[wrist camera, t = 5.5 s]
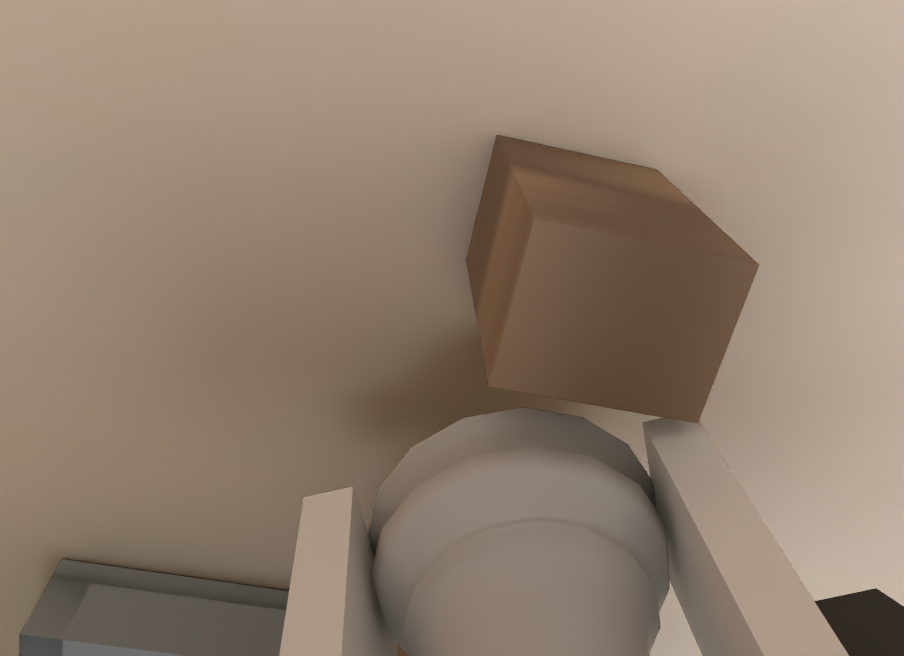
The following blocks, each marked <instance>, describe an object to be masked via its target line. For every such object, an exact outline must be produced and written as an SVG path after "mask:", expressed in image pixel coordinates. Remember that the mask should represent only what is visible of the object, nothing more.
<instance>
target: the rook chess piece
mask: <svg viewBox="0 0 904 656" xmlns="http://www.w3.org/2000/svg"><path fill="white" fill-rule="evenodd" d="M369 538H370V541H371V545H372V548H373V552H374V555H375V560H374V564H373V568H372V573H371V576H372V579H373V583H374V586H375V589H376V593H377V596H378V600H379V603H380V607H381V610H382V614H383V617H384V620H385V623H386V626H387V629H388V632H389V634H390V636H391V637H392V638H393V639H394V640H395V641H396V642H397V643H398V645H399V646H400V647H401V648H402V649H403V650H404V651H405V652H406V653H407V655H408V656H649V652H650V650H651V647H652V645H653V643H654V641H655V638H656V636H657V634H658V631H659V629H660V619H659V611H660V609H661V607H662V605H663V602H664V600H665V598H666V595H667V593H668V591H669V558H668V545H667V532H666V524H665V522H664V521H663V519H662V518H661V516H660V515H659V513H658V512H657V509H656V501H655V493H654V485H653V482H652V480H651V479H650V477H649V476H648V474H647V472H646V471H645V469H644V468H643V466H642V465H641V463H640V462H639V460H638V459H637V457H636V456H635V454H634V453H633V451H632V450H631V448H630V447H629V445H628V444H626V443H624V442H623V441H621V440H619V439H618V438H616V437H614V436H613V435H611V434H609V433H608V432H606V431H604V430H603V429H601V428H599V427H598V426H596V425H594V424H593V423H591V422H589V421H588V420H586V419H584V418H583V417H579V416H573V415H567V414H561V413H554V412H548V411H542V410H536V409H530V408H524V407H523V408H517V409H511V410H506V411H500V412H494V413H489V414H483V415H477V416H471V417H466V418H462V419H460V420H458V421H457V422H455V423H453V424H451V425H450V426H448V427H446V428H444V429H443V430H441V431H439V432H437V433H435V434H434V435H432V436H430V437H428V438H427V439H425V440H423V441H421V442H419V443H418V444H416V445H414V446H412V447H411V448H410V450H409V451H408V452H407V453H406V455H405V456H404V457H403V458H402V460H401V461H400V462H399V463H398V465H397V466H396V467H395V468H394V470H393V471H392V472H391V473H390V475H389V476H388V477H387V478H386V480H385V481H384V482H383V483H382V485H381V486H380V487H379V489H378V494H377V498H376V503H375V507H374V511H373V516H372V520H371V525H370V529H369Z"/></svg>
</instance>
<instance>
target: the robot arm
mask: <svg viewBox="0 0 904 656" xmlns="http://www.w3.org/2000/svg"><path fill="white" fill-rule="evenodd" d="M643 428H644V435H645V442H646V449H647V456H648V463H649V470H650V477H651V480H652V482H653V485H654V493H655V501H656V509H657V512H658V513H659V515H660V516H661V518H662V519H663V521H664V522H665V524H666V532H667V545H668V558H669V579H670V582H671V584H672V586H673V589H674V591H675V593H676V595H677V598H678V600H679V602H680V605H681V607H682V609H683V612H684V614H685V616H686V618H687V621H688V623H689V625H690V628H691V630H692V632H693V635H694V637H695V639H696V642H697V644H698V646H699V648H700V651H701V653H702V655H703V656H904V607H903V606H902V605H900V604H899V603H897V602H896V601H894V600H893V599H891V598H890V597H888V596H887V595H885V594H884V593H882V592H881V591H879V590H878V589H871V590H866V591H862V592H857V593H852V594H847V595H843V596H838V597H833V598H829V599H824V600H819V601H814V600H813V598H812V597H811V595H810V594H809V592H808V591H807V589H806V588H805V586H804V584H803V583H802V581H801V580H800V578H799V577H798V575H797V573H796V572H795V570H794V569H793V567H792V566H791V564H790V562H789V561H788V559H787V558H786V556H785V555H784V553H783V551H782V550H781V548H780V547H779V545H778V544H777V542H776V541H775V539H774V537H773V536H772V534H771V533H770V531H769V530H768V528H767V526H766V525H765V523H764V522H763V520H762V519H761V517H760V515H759V514H758V512H757V511H756V509H755V508H754V506H753V504H752V503H751V501H750V500H749V498H748V497H747V495H746V494H745V492H744V490H743V489H742V487H741V486H740V484H739V483H738V481H737V479H736V478H735V476H734V475H733V473H732V472H731V470H730V468H729V467H728V465H727V464H726V462H725V461H724V459H723V458H722V456H721V454H720V453H719V451H718V450H717V448H716V447H715V445H714V443H713V442H712V440H711V439H710V437H709V436H708V434H707V432H706V431H705V429H704V428H703V426H702V425H701V423H700V421H698V423H691V422H686V421H680V420H675V419H669V418H661V419H656V420H652V421H647V422H643ZM374 560H375V555H374V552H373V548H372V545H371V541H370V538H369V535H368V532H367V529H366V526H365V523H364V520H363V517H362V513H361V510H360V507H359V504H358V501H357V498H356V495H355V492H354V489H353V486H352V487H348V488H343V489H339V490H334V491H330V492H325V493H321V494H316V495H312V496H307V497H304V498H303V505H302V511H301V518H300V524H299V531H298V537H297V544H296V550H295V556H294V563H293V569H292V576H291V582H290V589H289V595H288V602H287V608H286V615H285V621H284V628H283V634H282V640H281V647H280V653H279V656H397V642H396V641H395V640H394V639H393V638H392V637H391V636H390V634H389V632H388V629H387V626H386V623H385V620H384V617H383V614H382V610H381V607H380V603H379V600H378V596H377V593H376V589H375V586H374V583H373V579H372V576H371V573H372V568H373V564H374Z"/></svg>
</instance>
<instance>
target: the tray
mask: <svg viewBox="0 0 904 656" xmlns="http://www.w3.org/2000/svg"><path fill="white" fill-rule="evenodd" d="M288 595H289V591H284V590H277V589H270V588H263V587H256V586H249V585H241V584H234V583H227V582H220V581H213V580H206V579H199V578H192V577H185V576H178V575H171V574H164V573H157V572H150V571H142V570H135V569H128V568H121V567H114V566H107V565H100V564H93V563H86V562H79V561H72V560H65V559H62V560H61V561H60V563H59V565H58V567H57V569H56V570H55V572H54V574H53V576H52V578H51V579H50V581H49V583H48V585H47V586H46V588H45V590H44V592H43V594H42V595H41V597H40V599H39V601H38V603H37V604H36V606H35V608H34V610H33V611H32V613H31V615H30V617H29V619H28V620H27V622H26V624H25V626H24V628H23V629H22V631H21V633H20V645H19V656H279V653H280V647H281V640H282V634H283V628H284V621H285V615H286V608H287V602H288Z"/></svg>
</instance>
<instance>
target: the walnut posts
mask: <svg viewBox="0 0 904 656" xmlns="http://www.w3.org/2000/svg"><path fill="white" fill-rule="evenodd" d="M466 262H467V268H468V273H469V279H470V285H471V290H472V296H473V301H474V307H475V312H476V318H477V324H478V329H479V335H480V340H481V346H482V351H483V357H484V363H485V368H486V374H487V379H488V385H489V387H495V388H500V389H506V390H511V391H517V392H523V393H528V394H534V395H540V396H545V397H551V398H556V399H562V400H568V401H573V402H579V403H585V404H590V405H596V406H601V407H607V408H613V409H618V410H624V411H630V412H635V413H641V414H646V415H652V416H658V417H663V418H669V419H675V420H680V421H686V422H691V423H698V421H699V418H700V416H701V413H702V411H703V408H704V405H705V403H706V400H707V398H708V395H709V393H710V390H711V387H712V385H713V382H714V380H715V377H716V375H717V372H718V369H719V367H720V364H721V362H722V359H723V357H724V354H725V351H726V349H727V346H728V344H729V341H730V339H731V336H732V333H733V331H734V328H735V326H736V323H737V320H738V318H739V315H740V313H741V310H742V308H743V305H744V302H745V300H746V297H747V295H748V292H749V290H750V287H751V284H752V282H753V279H754V277H755V274H756V272H757V269H758V266H759V264H758V263H757V262H756V261H755V260H754V259H752V258H751V257H750V256H749V255H748V254H747V253H746V252H745V251H744V250H743V249H742V248H741V247H740V246H739V245H737V244H736V243H735V242H734V241H733V240H732V239H731V238H730V237H729V236H728V235H727V234H726V233H725V232H723V231H722V230H721V229H720V228H719V227H718V226H717V225H716V224H715V223H714V222H713V221H712V220H711V219H709V218H708V217H707V216H706V215H705V214H704V213H703V212H702V211H701V210H700V209H699V208H698V207H697V206H695V205H694V204H693V203H692V202H691V201H690V200H689V199H688V198H687V197H686V196H685V195H684V194H683V193H681V192H680V191H679V190H678V189H677V188H676V187H675V186H674V185H673V184H672V183H671V182H670V181H669V180H667V179H666V178H665V177H664V176H663V175H662V174H661V173H660V172H659V171H658V170H656V169H651V168H646V167H642V166H637V165H633V164H628V163H624V162H619V161H614V160H610V159H605V158H601V157H596V156H591V155H587V154H582V153H578V152H573V151H568V150H564V149H559V148H555V147H550V146H545V145H541V144H536V143H532V142H527V141H522V140H518V139H513V138H509V137H504V136H499V135H497V136H496V140H495V144H494V148H493V153H492V157H491V161H490V165H489V169H488V173H487V177H486V181H485V185H484V189H483V194H482V198H481V202H480V206H479V210H478V214H477V218H476V222H475V226H474V231H473V235H472V239H471V243H470V247H469V251H468V255H467V259H466ZM397 656H408V655H407V653H406V652H405V651H404V650H403V649H402V648H401V647H400V646H399V645H398V643H397Z"/></svg>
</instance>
